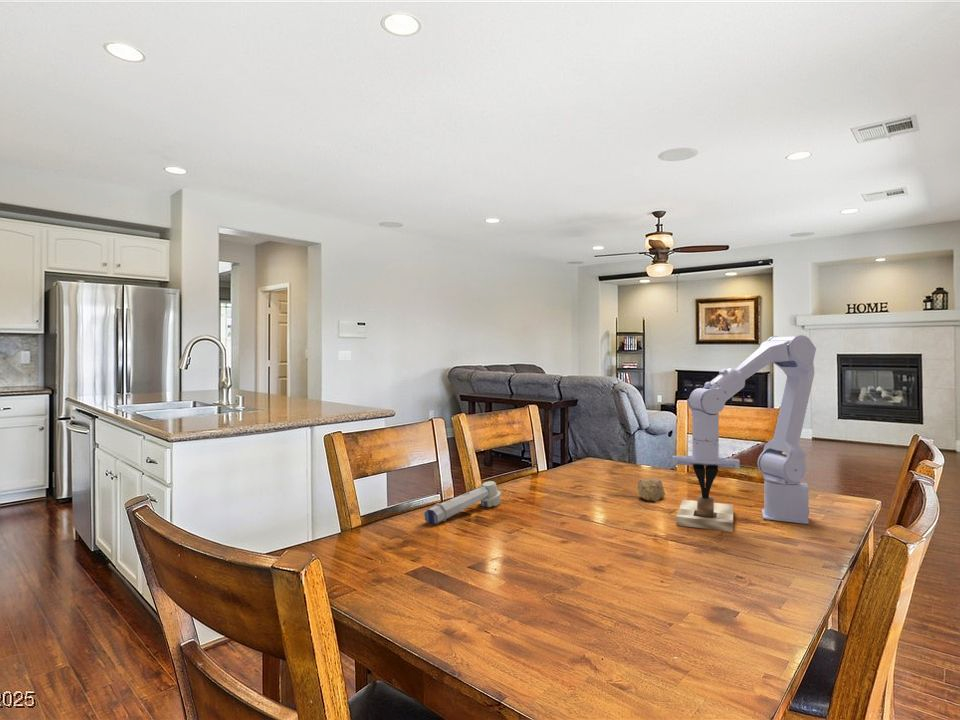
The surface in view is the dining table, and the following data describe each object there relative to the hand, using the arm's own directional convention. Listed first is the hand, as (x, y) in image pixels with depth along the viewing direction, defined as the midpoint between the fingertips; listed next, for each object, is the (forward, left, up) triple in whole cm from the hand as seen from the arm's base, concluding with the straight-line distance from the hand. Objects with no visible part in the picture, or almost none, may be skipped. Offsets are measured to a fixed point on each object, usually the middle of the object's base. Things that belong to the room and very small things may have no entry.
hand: (705, 496), depth 131 cm
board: (0, -4, -6) cm, 7 cm away
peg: (0, 0, -6) cm, 6 cm away
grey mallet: (+55, +16, -7) cm, 58 cm away
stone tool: (+15, -19, -6) cm, 25 cm away
